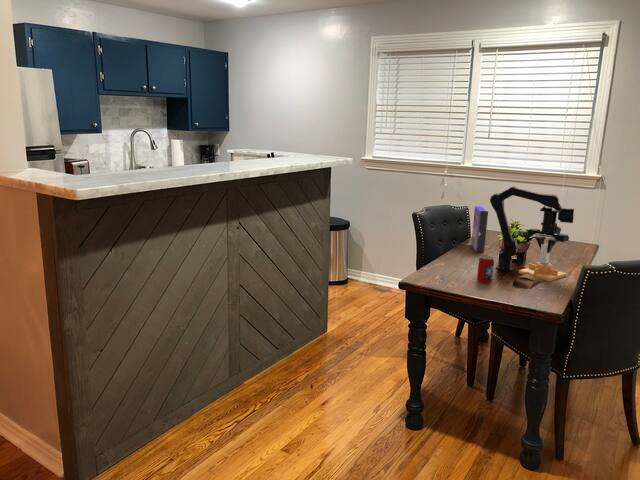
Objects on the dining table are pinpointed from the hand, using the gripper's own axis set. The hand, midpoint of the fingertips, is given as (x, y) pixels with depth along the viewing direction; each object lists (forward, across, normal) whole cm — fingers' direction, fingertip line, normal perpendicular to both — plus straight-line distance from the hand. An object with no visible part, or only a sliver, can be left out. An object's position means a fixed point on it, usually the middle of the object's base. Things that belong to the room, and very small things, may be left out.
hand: (545, 252), depth 252 cm
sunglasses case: (+12, -4, +20) cm, 24 cm away
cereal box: (+12, +52, -18) cm, 57 cm away
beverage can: (+12, +8, +36) cm, 39 cm away
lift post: (+6, 0, 0) cm, 6 cm away
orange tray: (+12, 0, 0) cm, 12 cm away
